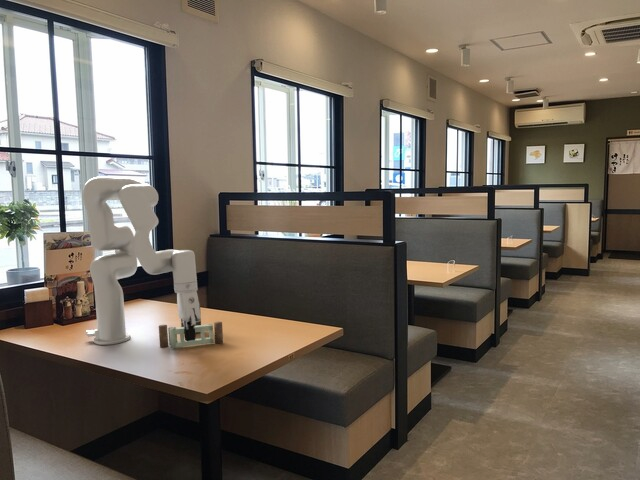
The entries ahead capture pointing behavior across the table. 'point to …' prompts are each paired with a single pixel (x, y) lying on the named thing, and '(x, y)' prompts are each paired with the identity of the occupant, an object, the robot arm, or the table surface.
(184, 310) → the robot arm
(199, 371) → the table surface
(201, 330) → the gate
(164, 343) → the gate posts
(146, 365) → the table surface
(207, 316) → the table surface
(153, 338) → the table surface
